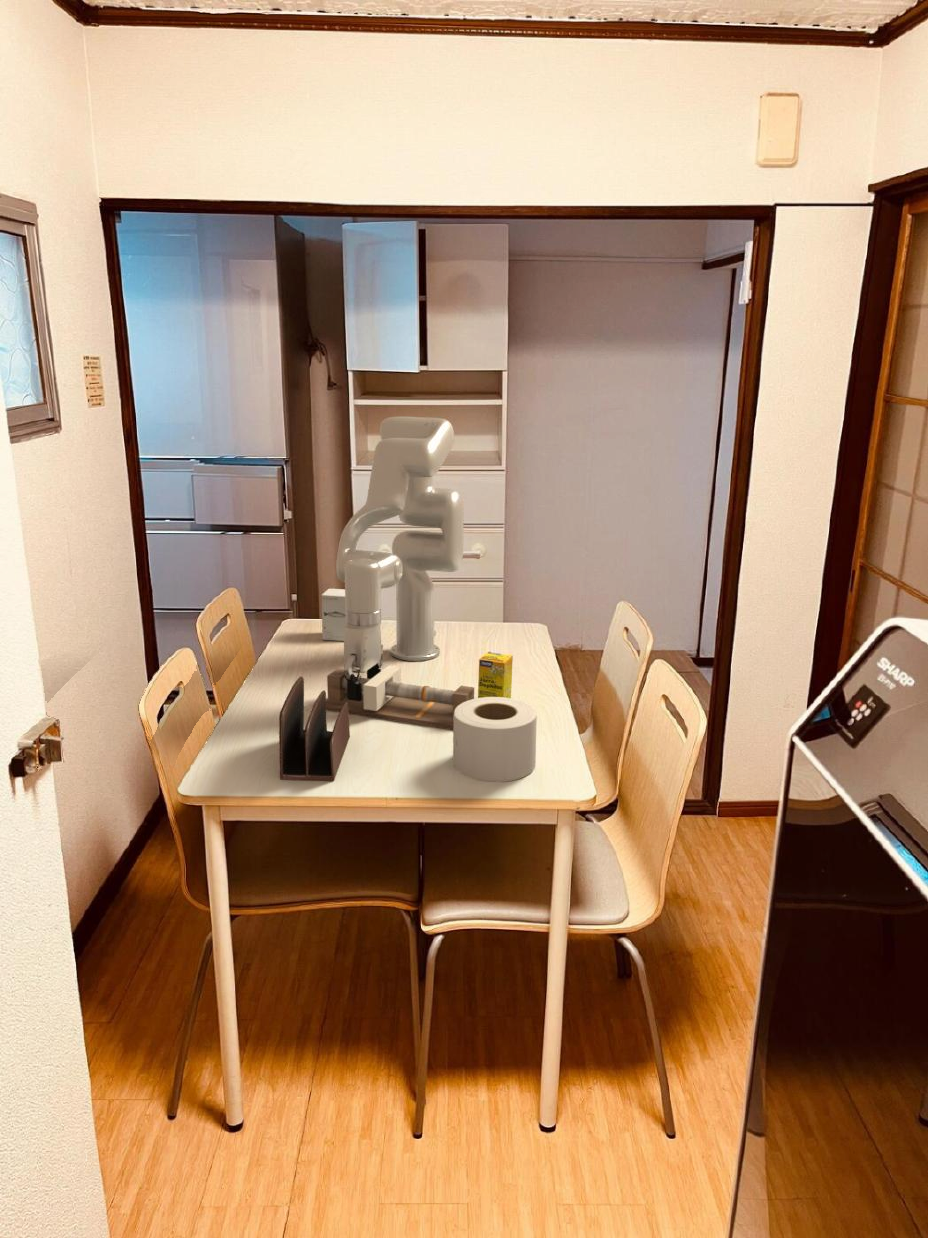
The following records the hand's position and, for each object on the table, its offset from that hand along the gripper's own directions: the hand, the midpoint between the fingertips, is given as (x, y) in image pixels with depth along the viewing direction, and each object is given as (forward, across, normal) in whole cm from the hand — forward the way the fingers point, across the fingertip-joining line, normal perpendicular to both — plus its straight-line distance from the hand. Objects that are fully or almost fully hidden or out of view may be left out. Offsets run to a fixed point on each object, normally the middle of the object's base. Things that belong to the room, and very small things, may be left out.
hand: (364, 692), depth 200 cm
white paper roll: (+3, +18, +35) cm, 40 cm away
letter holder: (+3, +28, +3) cm, 28 cm away
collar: (+1, 0, +4) cm, 4 cm away
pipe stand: (+3, 0, +8) cm, 9 cm away
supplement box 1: (+3, -41, -27) cm, 49 cm away
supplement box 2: (+3, -11, +26) cm, 29 cm away
